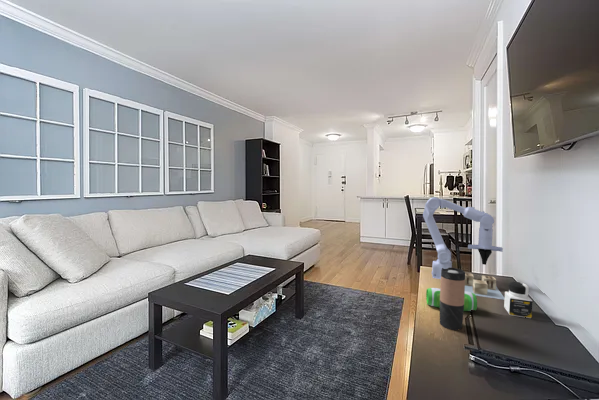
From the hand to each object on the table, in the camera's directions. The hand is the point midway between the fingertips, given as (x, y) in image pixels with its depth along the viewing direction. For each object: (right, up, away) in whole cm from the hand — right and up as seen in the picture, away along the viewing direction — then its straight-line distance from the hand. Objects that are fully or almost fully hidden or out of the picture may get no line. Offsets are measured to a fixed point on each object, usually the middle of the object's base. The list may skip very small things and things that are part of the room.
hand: (484, 264), depth 143 cm
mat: (-7, -11, -8) cm, 15 cm away
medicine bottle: (-8, -13, -32) cm, 35 cm away
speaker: (-32, -12, -27) cm, 44 cm away
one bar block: (-10, -10, -1) cm, 14 cm away
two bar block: (-2, -10, -6) cm, 12 cm away
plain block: (-10, -10, -12) cm, 19 cm away
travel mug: (-39, -13, -42) cm, 59 cm away
